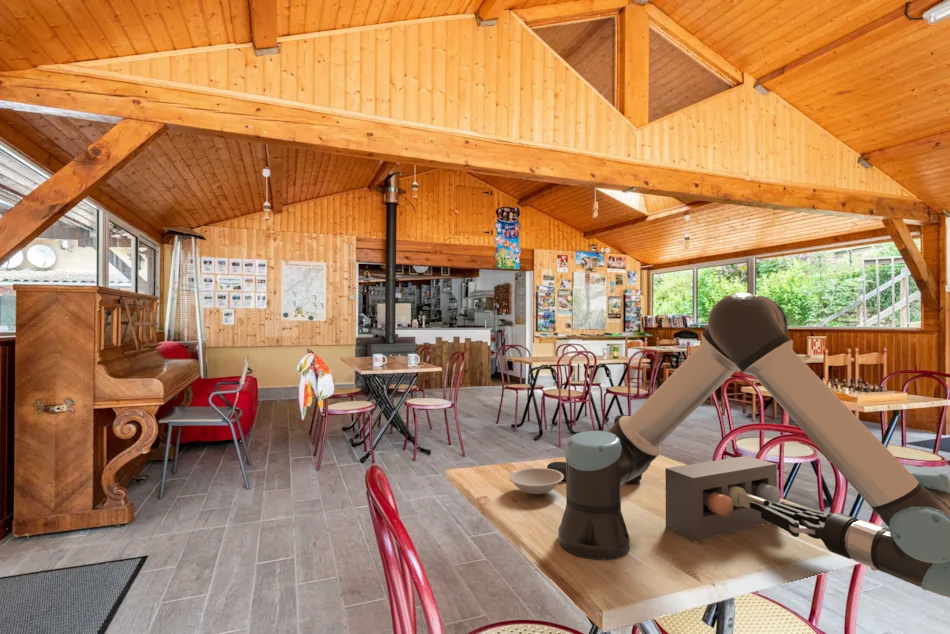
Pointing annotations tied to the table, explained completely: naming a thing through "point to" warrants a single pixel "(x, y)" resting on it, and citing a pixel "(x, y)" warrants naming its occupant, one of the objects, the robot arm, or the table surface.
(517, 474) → the dish
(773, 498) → the grey rounded knob
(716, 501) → the terracotta button
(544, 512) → the table surface
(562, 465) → the smart speaker
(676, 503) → the console
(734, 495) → the sage button
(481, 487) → the table surface
